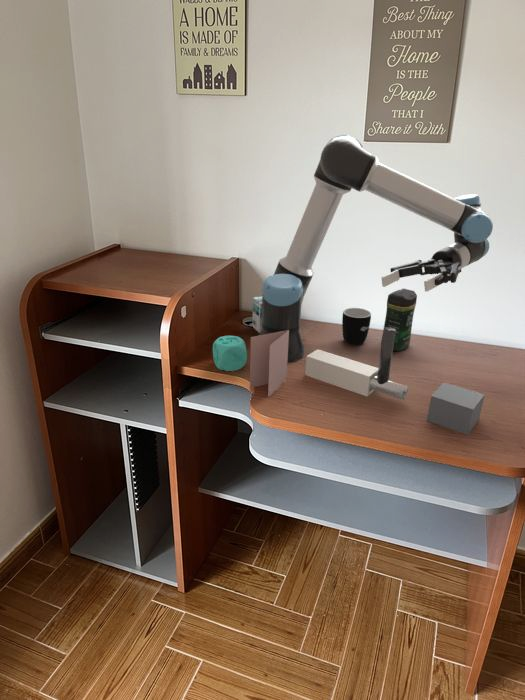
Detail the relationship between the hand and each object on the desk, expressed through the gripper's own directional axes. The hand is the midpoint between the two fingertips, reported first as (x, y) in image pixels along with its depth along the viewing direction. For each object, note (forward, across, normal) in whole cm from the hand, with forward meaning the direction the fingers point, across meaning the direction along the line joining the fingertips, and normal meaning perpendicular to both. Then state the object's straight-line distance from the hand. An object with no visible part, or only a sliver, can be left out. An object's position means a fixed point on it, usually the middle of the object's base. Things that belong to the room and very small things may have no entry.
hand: (403, 284), depth 141 cm
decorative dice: (+35, +38, -17) cm, 54 cm away
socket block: (+10, -19, -30) cm, 37 cm away
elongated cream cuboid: (+17, +11, -24) cm, 31 cm away
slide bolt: (+15, +6, -24) cm, 29 cm away
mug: (-9, +29, -25) cm, 39 cm away
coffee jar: (-15, +18, -28) cm, 37 cm away
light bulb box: (+7, +53, -18) cm, 56 cm away
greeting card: (+34, +20, -20) cm, 44 cm away
